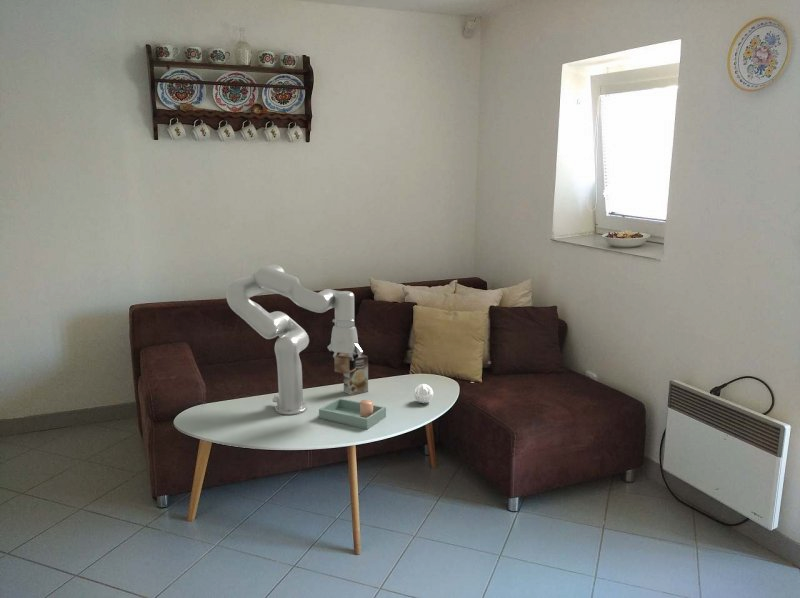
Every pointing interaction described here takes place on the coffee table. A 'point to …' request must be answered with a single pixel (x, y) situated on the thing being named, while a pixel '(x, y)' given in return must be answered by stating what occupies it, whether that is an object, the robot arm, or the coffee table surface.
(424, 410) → the coffee table surface
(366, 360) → the coffee box
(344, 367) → the walnut block
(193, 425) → the coffee table surface
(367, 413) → the terracotta cylinder
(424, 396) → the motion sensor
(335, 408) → the tote
